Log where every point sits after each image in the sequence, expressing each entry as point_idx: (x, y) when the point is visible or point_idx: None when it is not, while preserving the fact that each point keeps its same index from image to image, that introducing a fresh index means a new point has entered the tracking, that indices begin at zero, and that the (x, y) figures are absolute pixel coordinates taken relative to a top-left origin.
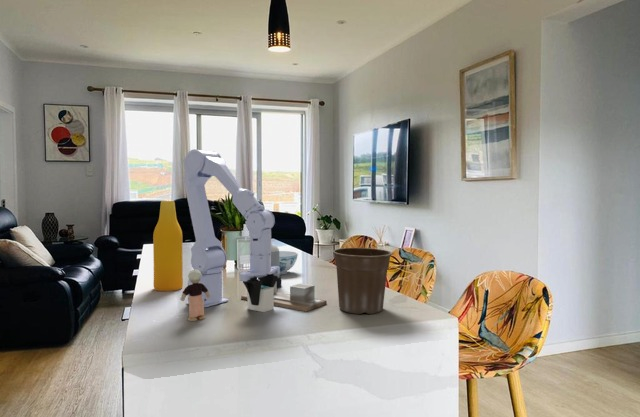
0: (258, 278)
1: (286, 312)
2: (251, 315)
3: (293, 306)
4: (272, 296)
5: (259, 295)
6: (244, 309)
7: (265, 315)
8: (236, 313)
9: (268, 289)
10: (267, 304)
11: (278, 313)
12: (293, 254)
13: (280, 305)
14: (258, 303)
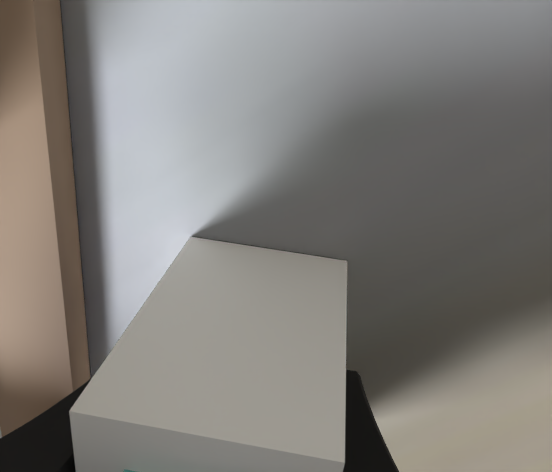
0: None
1: (228, 25)
2: (511, 310)
3: (43, 27)
4: (158, 320)
5: None
6: None
7: (457, 184)
8: (492, 447)
9: (217, 429)
10: (282, 289)
11: (315, 93)
12: None
13: (70, 223)
14: None
